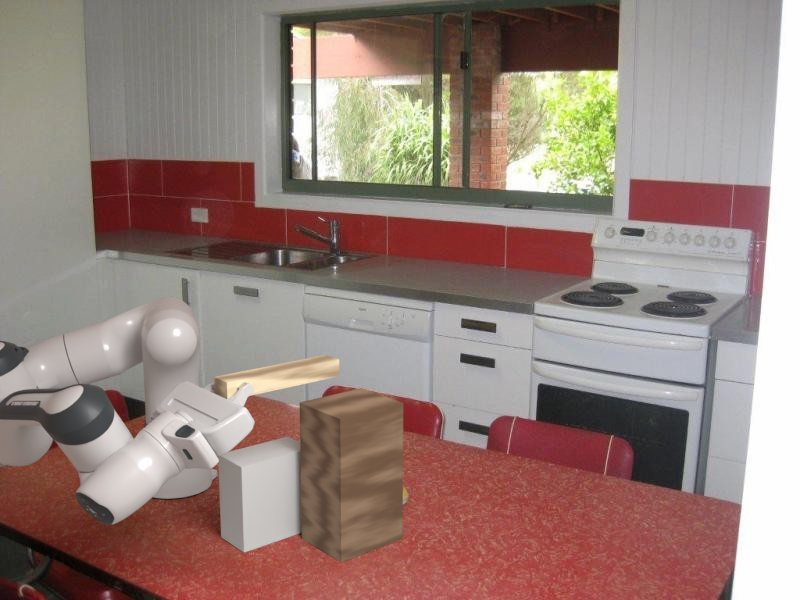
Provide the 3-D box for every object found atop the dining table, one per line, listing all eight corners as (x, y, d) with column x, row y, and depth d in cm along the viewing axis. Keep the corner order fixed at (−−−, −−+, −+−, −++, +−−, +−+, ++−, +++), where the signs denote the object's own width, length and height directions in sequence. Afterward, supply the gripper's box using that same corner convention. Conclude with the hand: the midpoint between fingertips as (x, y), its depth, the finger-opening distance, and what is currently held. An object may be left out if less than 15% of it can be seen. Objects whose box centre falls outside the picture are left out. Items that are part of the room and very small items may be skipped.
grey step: (221, 537, 170) (218, 454, 167) (289, 514, 179) (287, 436, 176) (244, 552, 164) (241, 467, 161) (313, 528, 174) (312, 447, 170)
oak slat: (214, 395, 148) (214, 376, 148) (325, 371, 163) (325, 354, 162) (227, 400, 146) (226, 382, 145) (339, 376, 160) (339, 359, 159)
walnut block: (301, 538, 169) (299, 402, 164) (361, 517, 178) (361, 388, 173) (341, 562, 161) (340, 419, 155) (402, 539, 170) (403, 403, 164)
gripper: (154, 436, 152) (217, 382, 158) (217, 472, 137) (284, 411, 143) (134, 407, 149) (200, 354, 155) (197, 441, 134) (266, 380, 140)
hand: (241, 381), depth 149 cm, fingers closed on oak slat, 4 cm apart
